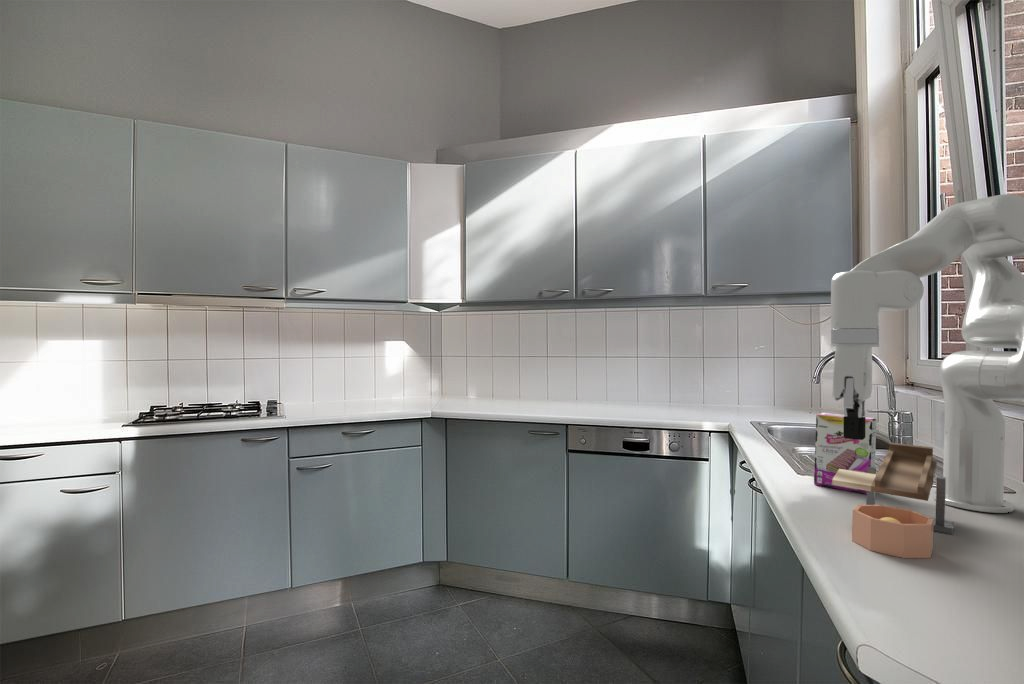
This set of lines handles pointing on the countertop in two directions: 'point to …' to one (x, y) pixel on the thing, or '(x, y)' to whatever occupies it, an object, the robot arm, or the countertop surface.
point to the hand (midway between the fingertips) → (854, 438)
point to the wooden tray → (896, 473)
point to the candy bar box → (841, 449)
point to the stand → (939, 521)
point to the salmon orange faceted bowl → (893, 531)
